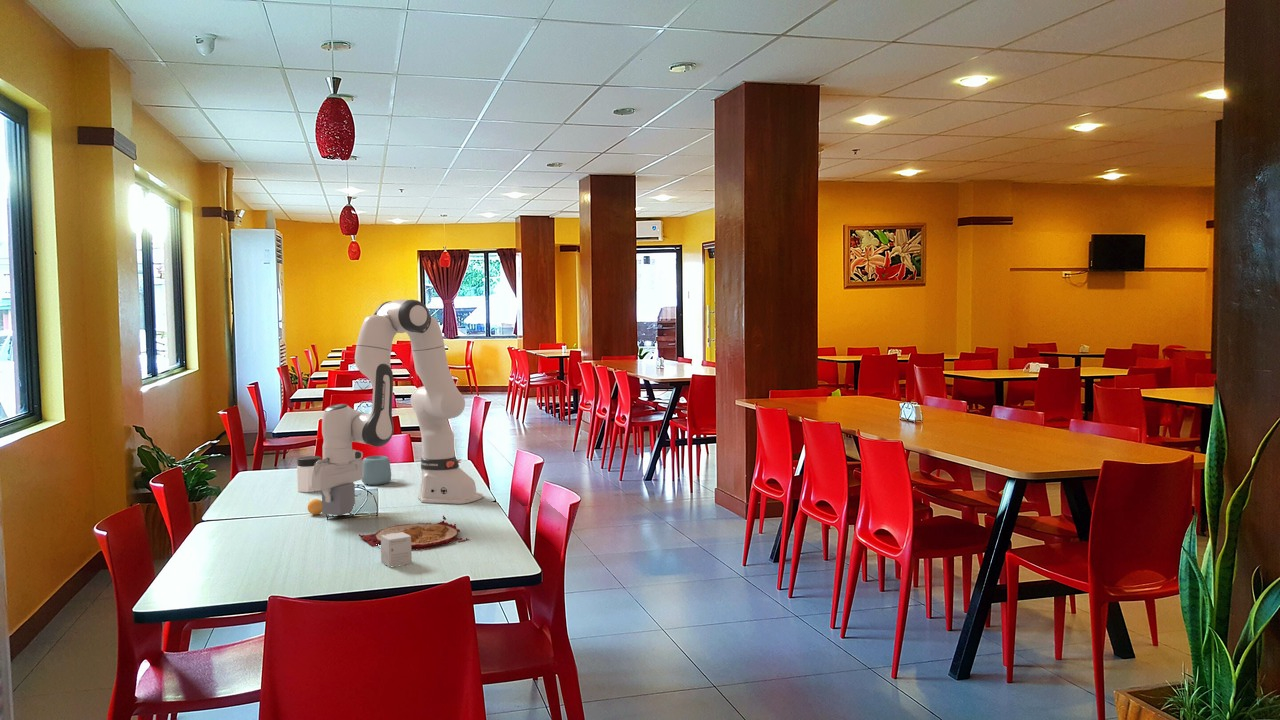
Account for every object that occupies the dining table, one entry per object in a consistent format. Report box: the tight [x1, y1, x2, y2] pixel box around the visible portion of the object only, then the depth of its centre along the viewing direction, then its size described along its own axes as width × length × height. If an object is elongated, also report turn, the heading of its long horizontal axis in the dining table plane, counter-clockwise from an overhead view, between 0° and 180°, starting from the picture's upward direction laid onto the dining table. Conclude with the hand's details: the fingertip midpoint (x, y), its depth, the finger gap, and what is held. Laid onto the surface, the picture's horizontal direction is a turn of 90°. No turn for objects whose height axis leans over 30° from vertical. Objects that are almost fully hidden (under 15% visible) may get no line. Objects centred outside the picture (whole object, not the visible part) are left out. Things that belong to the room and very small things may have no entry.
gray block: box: [321, 482, 356, 516], centre depth 281 cm, size 7×7×9 cm
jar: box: [296, 455, 322, 493], centre depth 323 cm, size 9×8×12 cm
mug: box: [361, 455, 392, 486], centre depth 337 cm, size 15×11×10 cm
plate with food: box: [358, 515, 470, 551], centre depth 253 cm, size 25×26×4 cm
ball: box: [307, 498, 322, 516], centre depth 284 cm, size 5×5×5 cm
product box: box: [380, 532, 413, 568], centre depth 229 cm, size 6×6×7 cm
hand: (338, 499), depth 281 cm, fingers closed on gray block, 7 cm apart
